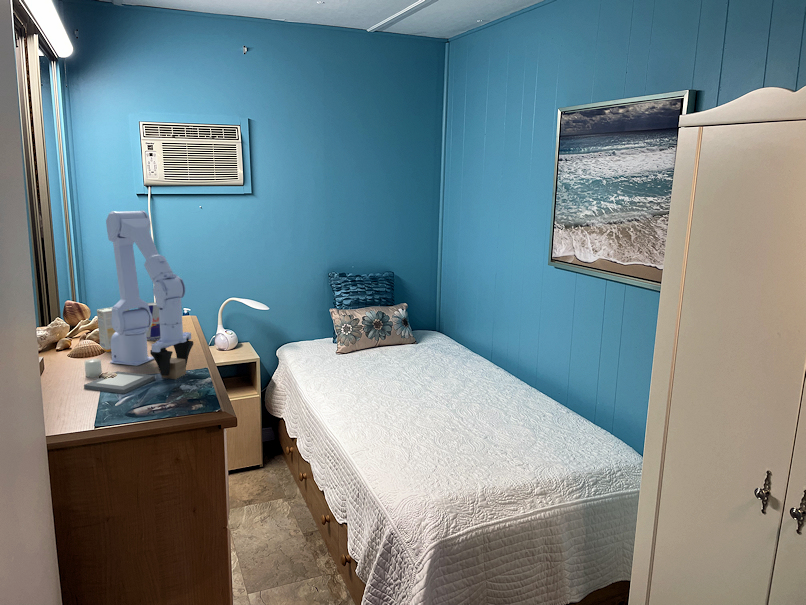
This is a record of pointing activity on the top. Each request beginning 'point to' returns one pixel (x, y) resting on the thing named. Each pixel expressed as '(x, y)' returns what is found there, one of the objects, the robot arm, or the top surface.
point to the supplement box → (105, 328)
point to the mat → (120, 382)
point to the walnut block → (176, 368)
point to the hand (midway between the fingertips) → (173, 370)
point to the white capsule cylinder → (93, 367)
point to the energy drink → (154, 323)
